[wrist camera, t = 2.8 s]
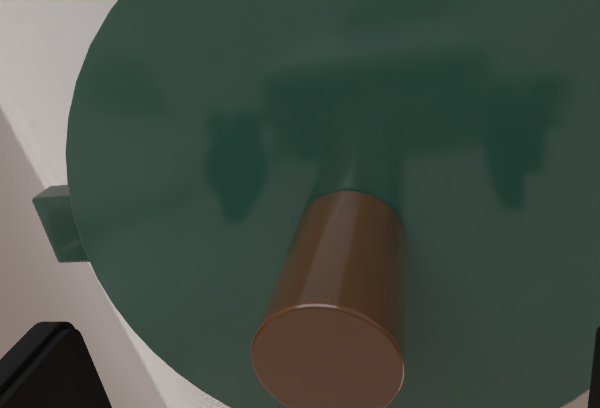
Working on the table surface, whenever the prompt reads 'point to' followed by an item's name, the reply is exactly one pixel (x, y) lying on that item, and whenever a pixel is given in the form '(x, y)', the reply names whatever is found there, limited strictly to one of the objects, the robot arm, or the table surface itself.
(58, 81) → the table surface
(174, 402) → the table surface
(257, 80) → the lid
